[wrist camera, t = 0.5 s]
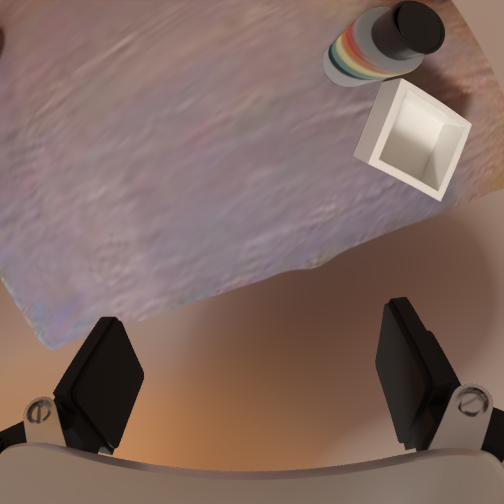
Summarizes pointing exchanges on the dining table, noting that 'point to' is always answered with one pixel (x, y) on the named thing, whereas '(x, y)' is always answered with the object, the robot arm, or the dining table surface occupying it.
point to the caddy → (413, 137)
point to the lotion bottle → (384, 44)
